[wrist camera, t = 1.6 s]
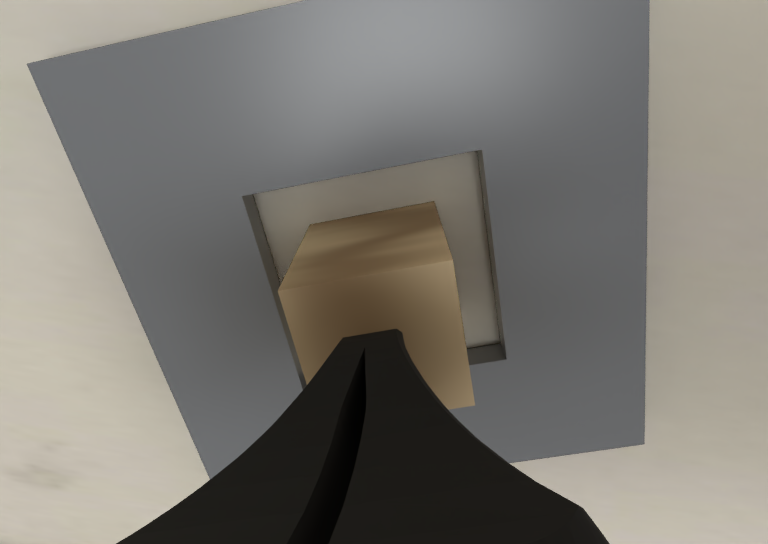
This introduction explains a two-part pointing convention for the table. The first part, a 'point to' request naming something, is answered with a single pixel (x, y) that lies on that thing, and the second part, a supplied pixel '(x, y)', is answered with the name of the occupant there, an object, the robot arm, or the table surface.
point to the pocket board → (368, 153)
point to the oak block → (380, 294)
